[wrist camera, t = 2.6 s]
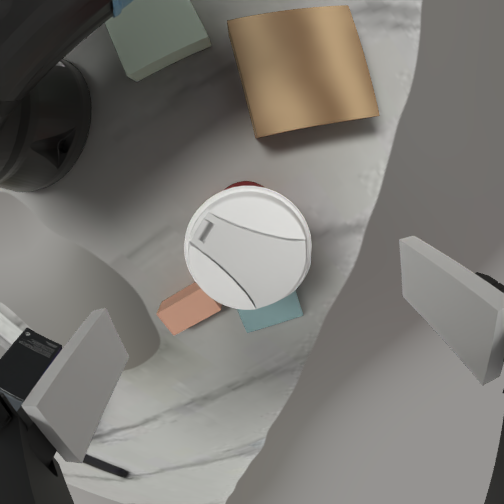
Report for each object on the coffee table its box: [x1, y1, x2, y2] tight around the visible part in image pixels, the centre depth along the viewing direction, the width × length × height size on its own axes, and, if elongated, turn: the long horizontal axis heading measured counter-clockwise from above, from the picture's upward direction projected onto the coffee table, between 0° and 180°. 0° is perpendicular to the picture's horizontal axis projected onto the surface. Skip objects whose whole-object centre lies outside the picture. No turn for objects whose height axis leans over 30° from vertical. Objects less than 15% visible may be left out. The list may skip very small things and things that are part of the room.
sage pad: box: [105, 0, 211, 82], centre depth 24 cm, size 8×8×3 cm
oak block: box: [227, 5, 380, 138], centre depth 25 cm, size 11×11×4 cm
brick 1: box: [157, 282, 222, 335], centre depth 33 cm, size 6×3×3 cm, turn 121°
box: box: [0, 328, 62, 412], centre depth 33 cm, size 17×7×12 cm, turn 158°
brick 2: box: [237, 291, 303, 333], centre depth 33 cm, size 6×3×3 cm, turn 109°
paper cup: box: [184, 181, 312, 310], centre depth 25 cm, size 8×8×14 cm
